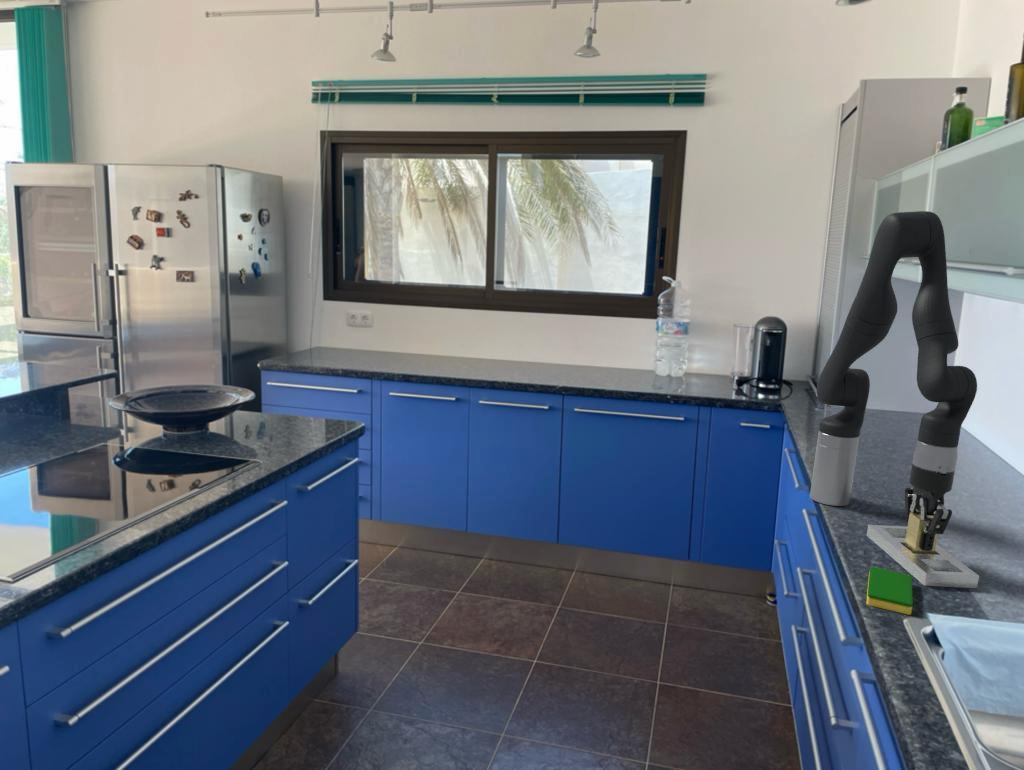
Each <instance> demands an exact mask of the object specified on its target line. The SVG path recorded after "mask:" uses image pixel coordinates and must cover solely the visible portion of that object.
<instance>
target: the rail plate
mask: <svg viewBox="0 0 1024 770" xmlns="http://www.w3.org/2000/svg"><path fill="white" fill-rule="evenodd" d="M907 527H908V526H902V525H901V526H899V525H882V524H881V525H880V524H879V525H878V524H868V525H867V531H866V537H868V538H869V539H870V540H871V541H872V542H873V541H874V542H873V543H875V544H876V546H878V547H879V548H880V549H881V550H882V551H884V552H885V553H887V555H889V556H890V557H891V558H892V560H894V561H896V563H898V564H899V565H900V566H901V567H902V568H903V569H905V570H906V571H907V572H908V574H909V575H911V576H913V577H914V578H915V579H916V580H918V582H920V584H922V585H923V586H924V587H925V586H926V587H927V586H928V587H945V588H947V587H948V588H949V587H950V588H966V589H978V586H979V579H980V575H979V574H978V573H976V572H974V571H973V570H972V569H971V568H969V567H968V566H967V565H966V564H964V563H963V562H961V561H960V560H959V559H958V558H956V557H954V555H952V554H951V553H950V552H948V551H946V550H945V549H944V548H943V547H941V546H939V545H938V544H937V543H936V547H935V553H915V552H913V551H912V550H911V549H910V548H908V547H907V546H906V545H905V539H906V533H907Z"/></svg>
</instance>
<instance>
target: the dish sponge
mask: <svg viewBox="0 0 1024 770" xmlns="http://www.w3.org/2000/svg"><path fill="white" fill-rule="evenodd" d="M912 576H913V575H912V574H910V573H908V574H907V573H903V572H898V571H894V570H889V569H885V568H880V567H875V566H870V567H869V573H868V581H867V582H868V583H867V591H866V592H867V593H866V605H867V606H871V607H875V608H880V609H883V610H889V611H892V612H895V613H896V612H897V613H901V614H904V615H907V616H908V615H912V612H913V606H914V604H913V603H914V602H913V601H914V600H913V598H914V597H913V579H912Z"/></svg>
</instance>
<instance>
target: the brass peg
mask: <svg viewBox="0 0 1024 770" xmlns="http://www.w3.org/2000/svg"><path fill="white" fill-rule="evenodd" d="M927 517H934V516H929V515H927ZM923 523H924V521H922V520H921V514H918V513H912V512H910V515H909V517H908V522H907V526H906V527H907V533H906V539H905V545H906V546H907V547H908V548H910V549H911V550H912V551H913V552H915V553H935V547H936V544H937V540H938V535H939V534H935V537H934V542H933V548H932V550H931V551H923V550H921V549H920V544H921V538H922V532H923ZM930 524H931V522H929V526H930ZM938 528H939V525H938Z"/></svg>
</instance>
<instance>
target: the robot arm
mask: <svg viewBox="0 0 1024 770" xmlns="http://www.w3.org/2000/svg"><path fill="white" fill-rule="evenodd" d="M909 258H918V261H919V263H920V266H921V272H922V273H921V275H922V277H921V282H920V286H919V289H918V292H917V294H916V298H915V299H914V303H913V306H912V311H911V313H912V314H911V321H912V326H913V327H912V329H913V331H914V336H915V339H916V344H917V348H918V353H917V366H916V383H917V384H916V385H917V387H918V390H919V392H920V394H921V395H922V396H923V398H924V399H925V400H927V401H929V402H932V403H937V405H936V406H935V408H934V409H933V410H931V411H928V412H926V413H924V414H923V415H922V416H921V419H920V424H919V429H918V434H917V441H916V445H915V447H914V451H913V457H912V463H911V469H910V475H909V484H910V485H911V486H912V487H905V488H904V515H905V517H906V518H907V517H908V518H909V515H910V512H912V513H918V514H921V520H922V521H924V523H923V532H922V538H921V544H920V549H921V550H923V551H931V550H932V548H933V542H934V537H935V534H938V535H944V533H945V530H946V528H947V526H948V524H949V522H950V520H951V518H952V515H953V511H952V509H949V508H946V506H945V495H946V494H947V493H949V492H951V491H952V489H953V484H954V479H955V473H956V467H957V460H958V447H959V441H960V435H961V428H962V425H963V423H964V421H965V419H966V418H967V415H968V413H969V411H970V409H971V407H972V405H973V403H974V400H975V397H976V395H977V391H978V381H977V377H976V374H975V373H974V371H973V370H971V369H970V368H968V367H967V366H965V365H964V366H963V365H948V355H950V354H952V353H955V351H956V350H957V349H958V347H959V337H958V334H957V330H956V326H955V322H954V318H953V317H954V316H953V314H952V310H951V304H950V298H949V289H948V288H949V286H948V267H947V266H948V265H947V264H948V263H947V252H946V238H945V232H944V226H943V223H942V220H941V218H940V217H939V216H938V214H936V213H935V212H932V211H926V210H924V211H923V210H921V211H903V212H902V211H900V212H899V211H898V212H894V213H890V214H888V215H886V216H885V217H884V218H883V220H882V221H881V222H880V224H879V227H878V229H877V231H876V233H875V237H874V241H873V245H872V248H871V250H870V254H869V258H868V261H867V265H866V269H865V271H864V274H863V277H862V279H861V282H860V286H859V288H858V291H857V293H856V295H855V297H854V299H853V301H852V304H851V306H850V308H849V311H848V314H847V316H846V319H845V321H844V324H843V327H842V330H841V332H840V335H839V338H838V340H837V341H836V345H835V346H834V348H833V350H832V352H831V354H830V355H829V358H828V359H827V361H826V363H825V365H824V366H823V368H822V371H821V373H820V376H819V379H818V380H817V384H816V397H817V399H818V401H819V402H820V403H821V404H823V405H827V406H836V407H843V408H842V410H840V411H839V412H836V413H834V414H833V415H829V416H826V417H824V418H822V419H821V420H820V422H819V427H818V434H817V441H816V449H815V455H814V463H813V469H812V470H813V471H812V478H811V484H810V493H809V498H810V499H811V500H813V501H815V502H817V503H821V504H822V505H823V504H824V505H826V506H827V505H829V506H836V507H843V506H848V505H849V504H850V502H851V501H850V500H851V497H852V496H851V495H852V488H853V483H854V477H855V476H854V475H855V470H856V469H855V468H856V463H857V455H858V450H859V441H860V435H861V429H862V427H863V425H864V419H865V413H866V409H867V406H868V405H867V404H868V400H869V396H870V395H869V394H870V385H871V383H870V381H871V380H870V377H869V374H868V372H866V370H864V369H861V368H852V367H851V366H852V365H853V363H855V362H856V361H857V360H858V359H860V358H862V356H864V355H865V354H867V353H868V352H870V351H871V350H873V349H874V348H875V347H877V346H878V345H880V343H881V342H883V341H884V340H885V338H886V337H887V335H888V334H889V332H890V330H891V327H892V325H893V324H894V322H895V319H896V316H897V314H898V301H897V298H896V295H895V291H894V288H893V285H892V278H893V277H892V276H893V273H894V270H895V268H896V266H897V264H898V262H899V261H900V260H901V259H909ZM927 515H929V516H934V517H927ZM929 522H931V524H930V526H929ZM938 525H939V528H938Z"/></svg>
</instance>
